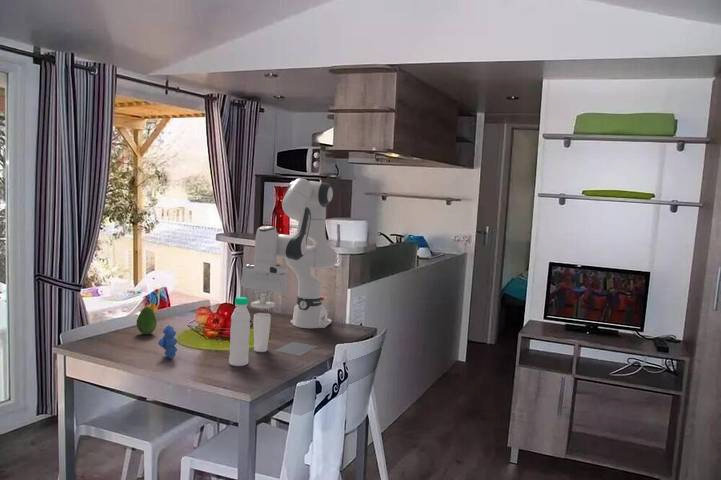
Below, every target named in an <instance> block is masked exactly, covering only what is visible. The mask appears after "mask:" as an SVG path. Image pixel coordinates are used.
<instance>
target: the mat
mask: <svg viewBox="0 0 721 480" xmlns="http://www.w3.org/2000/svg"><path fill="white" fill-rule="evenodd" d="M316 348H318V345H313V344H306V343H301V342H295V341H291V342H290V343H288V344H286V345H284V346H281V347H279V348H277V349H274V350H273V352H277V353H282V354H287V355H293V356H299V357H301V356H302V355H304V354H307V353H309V352H311V351H312V350H315V349H316Z"/></svg>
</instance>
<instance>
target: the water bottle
mask: <svg viewBox="0 0 721 480" xmlns="http://www.w3.org/2000/svg"><path fill="white" fill-rule="evenodd" d="M234 305H235V308H234V309H233V312H232V314H231V317H230V320H231V322H230V331H229V333H230V334H229V335H230V339H229V340H230V346H229V357H228V363H229V365H231V366H233V367H243V366H246V365H248V363H249V351H250V345H249V344H250V335H251V334H250V333H251V322H250V321H251V314H250V312H249V309H248V305H249V298H248V297H247V296H246V297H245V296H239V297H235V299H234Z"/></svg>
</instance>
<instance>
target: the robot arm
mask: <svg viewBox="0 0 721 480" xmlns="http://www.w3.org/2000/svg"><path fill="white" fill-rule="evenodd" d="M333 193H334V190H333V187H332V185H331V184H329V183H327V182H320V181H314V180H307V179H306V178H301V177H300V178H296V179H295V180H293V181H291V182H289V183H288V184H287V186H286V191H285V194H284V196H283V199H282V200H281V207H282V211H283V212H284V214H285V215H286V216H287V217H288V218H290V219H292V220H293V221H296V222H297V223H298V225H297V228H296V232H295V234H282V233H279V232H278V231H277V228H276V227H275V226H272V225H262V226H260V227H258V228H257V229H256V233H255V240H254V252H255V254H254V257H253V265H252V264H251V265H250V264H246V265H244V266H243V267H242V274H241V279H240V285H241V287H242V288H247V289H252V290H253V292H254V294H255V296H256V300H255V301H260V291H266V292H267V294H268V295H267V297H265V301H266V302H271V297H272V296H273V294H274V293H281V294H282V293H286V292H287V291H288V289H289V276H288V275H287V272H288V267H289V268H290V269H292V271H293V273H294V274H295V275H296V279H297V282H298V283H297V285H298V286H297V287H298V288H297V289H298V290H297V297H296V305H295V306H294V307H293V314H292V315H293V317H292V319H291V320H290V324H292V325H293V326H294V327H297V328H302V329H324V328H325V329H326V327H328V325H330V324H331V323H332V322H333V321H332V319H330V318H328V310H327V308H325V306H323V305H322V304H323V301H325V297H324V296H321V293H322V283H321V282H322V281H321V280H320V279H319V278H318V277H317V276H315V275H313V274H312V273H311V270H327V269H330V268H331V269H332V268H334V267H335V265H336V264H337V262H338V254H337V252H336V250H335V249H334V247H332V246H331V244H329V242H328V240H327V236H326V220H327V213H326V212H327V210H326V209H327V207H326V206H328V205H329V204H330V203H331V202H332V200H333V197H334V194H333ZM308 240H310V241H311V242H312V246H308V242H307V241H308ZM277 258H280V259H281V258H282V259H284V261H285V262H286V265H287V266H288V267H286V266H285V265H283V264H280V263H278V262H277Z"/></svg>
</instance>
